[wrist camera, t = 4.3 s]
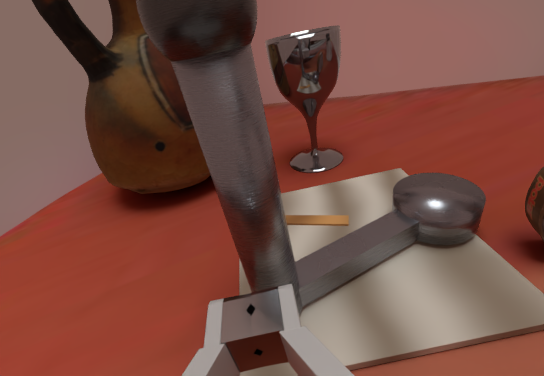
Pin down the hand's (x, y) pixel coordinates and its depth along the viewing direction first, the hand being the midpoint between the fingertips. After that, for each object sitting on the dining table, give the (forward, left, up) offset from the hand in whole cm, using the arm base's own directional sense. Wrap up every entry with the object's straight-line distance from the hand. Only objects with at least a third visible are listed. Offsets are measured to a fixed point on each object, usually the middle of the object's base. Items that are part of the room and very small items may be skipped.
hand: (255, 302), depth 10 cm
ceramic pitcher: (-8, -32, -9) cm, 34 cm away
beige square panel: (-11, -5, -8) cm, 14 cm away
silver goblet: (-21, -18, -9) cm, 29 cm away
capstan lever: (-10, -3, -7) cm, 13 cm away
